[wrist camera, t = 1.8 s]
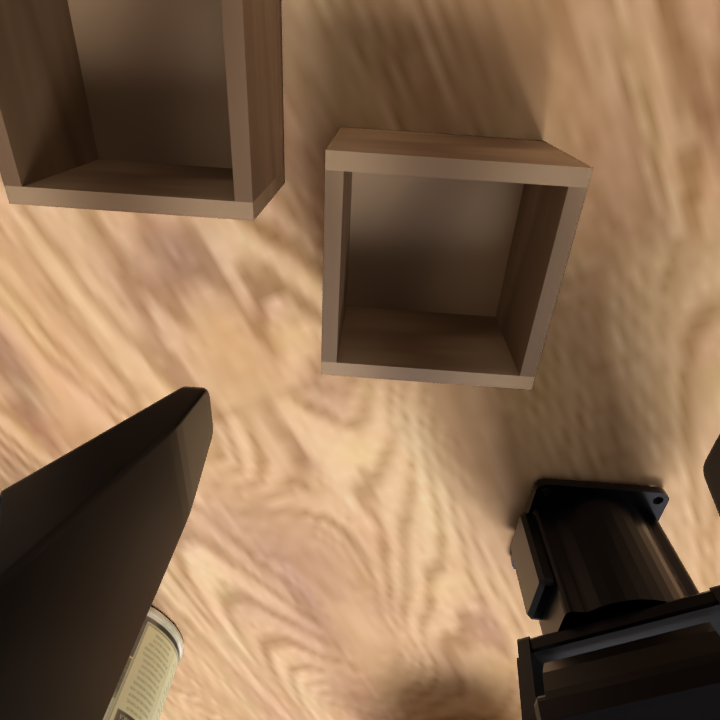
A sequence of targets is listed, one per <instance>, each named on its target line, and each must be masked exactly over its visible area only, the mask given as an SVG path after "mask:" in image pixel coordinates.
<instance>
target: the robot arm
mask: <svg viewBox="0 0 720 720" xmlns="http://www.w3.org/2000/svg"><path fill="white" fill-rule="evenodd" d="M212 434H213V422H212V413H211V404H210V396H209V393H208V391H207V390H206V389H205V388H199V387H182V388H180V389H178V390H176V391H175V392H173V393H171V394H169V395H168V396H166V397H164V398H163V399H161V400H159V401H157V402H156V403H154V404H152V405H150V406H149V407H147V408H145V409H143V410H142V411H140V412H138V413H136V414H135V415H133V416H131V417H130V418H128V419H126V420H124V421H123V422H121V423H119V424H117V425H116V426H114V427H112V428H110V429H109V430H107V431H105V432H103V433H102V434H100V435H98V436H97V437H95V438H93V439H91V440H90V441H88V442H86V443H84V444H83V445H81V446H79V447H77V448H76V449H74V450H72V451H70V452H69V453H67V454H65V455H64V456H62V457H60V458H58V459H57V460H55V461H53V462H51V463H50V464H48V465H46V466H44V467H43V468H41V469H39V470H37V471H36V472H34V473H32V474H30V475H29V476H27V477H25V478H23V479H22V480H20V481H18V482H17V483H15V484H13V485H11V486H10V487H8V488H6V489H4V490H3V491H2V492H1V495H0V720H103V718H104V716H105V713H106V711H107V709H108V706H109V704H110V702H111V699H112V697H113V695H114V692H115V690H116V687H117V685H118V683H119V680H120V678H121V676H122V673H123V671H124V669H125V666H126V664H127V661H128V659H129V657H130V654H131V652H132V650H133V647H134V645H135V643H136V640H137V638H138V635H139V633H140V631H141V628H142V626H143V624H144V621H145V619H146V617H147V614H148V612H149V609H150V607H151V605H152V602H153V600H154V598H155V595H156V593H157V591H158V588H159V586H160V584H161V581H162V579H163V576H164V574H165V572H166V569H167V567H168V565H169V562H170V560H171V558H172V555H173V553H174V550H175V548H176V546H177V543H178V541H179V539H180V536H181V534H182V532H183V529H184V527H185V524H186V522H187V519H188V517H189V514H190V511H191V508H192V505H193V502H194V498H195V495H196V491H197V488H198V484H199V481H200V477H201V474H202V470H203V467H204V463H205V460H206V457H207V453H208V450H209V446H210V443H211V439H212ZM703 472H704V477H705V480H706V483H707V485H708V488H709V490H710V493H711V495H712V498H713V500H714V503H715V505H716V508H717V511H718V513H719V516H720V434H719V436H718V438H717V440H716V442H715V444H714V446H713V447H712V449H711V451H710V453H709V455H708V457H707V459H706V460H705V463H704V467H703ZM544 488H547V489H545V490H542V489H544ZM656 497H657V498H656ZM668 501H669V497H668V495H667V494H666V492H665V490H664V489H662V488H659V487H649V486H636V485H622V484H609V483H596V482H583V481H570V480H557V479H541V480H538V481H537V482H535V484H534V486H533V489H532V492H531V496H530V499H529V502H528V505H527V508H526V511H525V513H523V514H522V515H521V516H520V518H519V521H518V524H517V527H516V531H515V534H514V537H513V540H512V543H511V552H512V556H511V563H512V566H513V568H514V569H516V572H517V576H518V580H519V585H520V589H521V593H522V597H523V601H524V605H525V609H526V613H527V615H528V616H529V617H530V618H531V619H535V620H539V622H540V626H541V630H542V634H543V635H542V636H538V637H534V638H530V637H525V638H522V639H518V640H517V643H518V654H519V658H517V666H518V677H519V688H520V699H521V710H522V720H720V585H719V586H715V587H711V588H709V589H710V591H706V592H702V593H699V591H698V590H697V588H696V586H695V584H694V583H693V581H692V579H691V577H690V576H689V574H688V572H687V570H686V569H685V567H684V565H683V564H682V562H681V560H680V558H679V557H678V555H677V553H676V551H675V550H674V548H673V546H672V544H671V543H670V541H669V539H668V538H667V536H666V534H665V532H664V531H663V529H662V527H661V525H660V524H659V522H658V521H659V519H660V517H661V515H662V513H663V511H664V509H665V507H666V505H667V503H668Z"/></svg>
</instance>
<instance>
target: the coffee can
mask: <svg viewBox="0 0 720 720" xmlns="http://www.w3.org/2000/svg"><path fill="white" fill-rule="evenodd" d="M183 651H184V643H183V639H182V637H181V634H180V632H179V631H178V630H177V628H176V626H175V625H174V624H173V623H172V622H171V621H170V620H169V619H168V618H167V617H166V616H164V615H163V614H162V613H161V612H159V611H158V610H156V609H155V608H152V607H150V609H149V612H148V614H147V617H146V619H145V621H144V624H143V626H142V628H141V631H140V633H139V635H138V638H137V640H136V643H135V645H134V647H133V650H132V652H131V654H130V657H129V659H128V661H127V664H126V666H125V669H124V671H123V673H122V676H121V678H120V680H119V683H118V685H117V687H116V690H115V692H114V695H113V697H112V699H111V702H110V704H109V706H108V709H107V711H106V713H105V716H104V718H103V720H159V718H160V715H161V712H162V709H163V707H164V704H165V701H166V698H167V695H168V692H169V689H170V686H171V683H172V680H173V677H174V674H175V671H176V669H177V666H178V663H179V661H180V659H181V657H182V655H183Z"/></svg>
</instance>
